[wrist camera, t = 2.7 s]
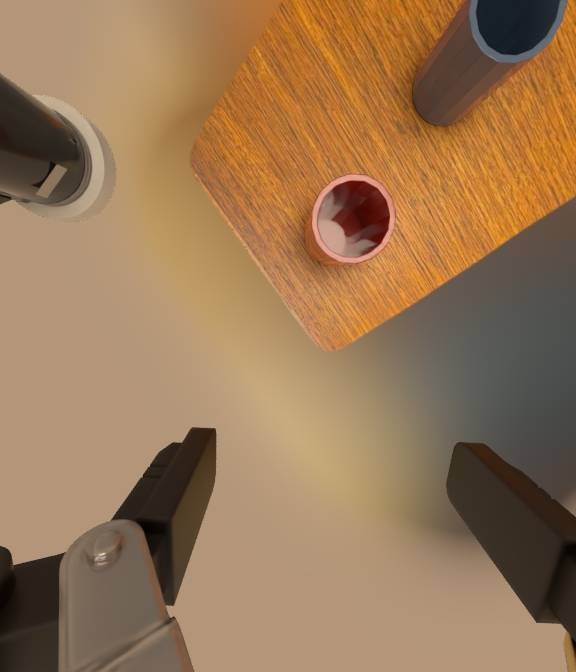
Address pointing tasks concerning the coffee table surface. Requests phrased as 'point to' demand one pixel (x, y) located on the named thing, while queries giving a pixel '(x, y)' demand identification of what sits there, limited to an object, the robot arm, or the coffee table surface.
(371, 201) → the red cup
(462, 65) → the blue cup
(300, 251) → the coffee table surface
